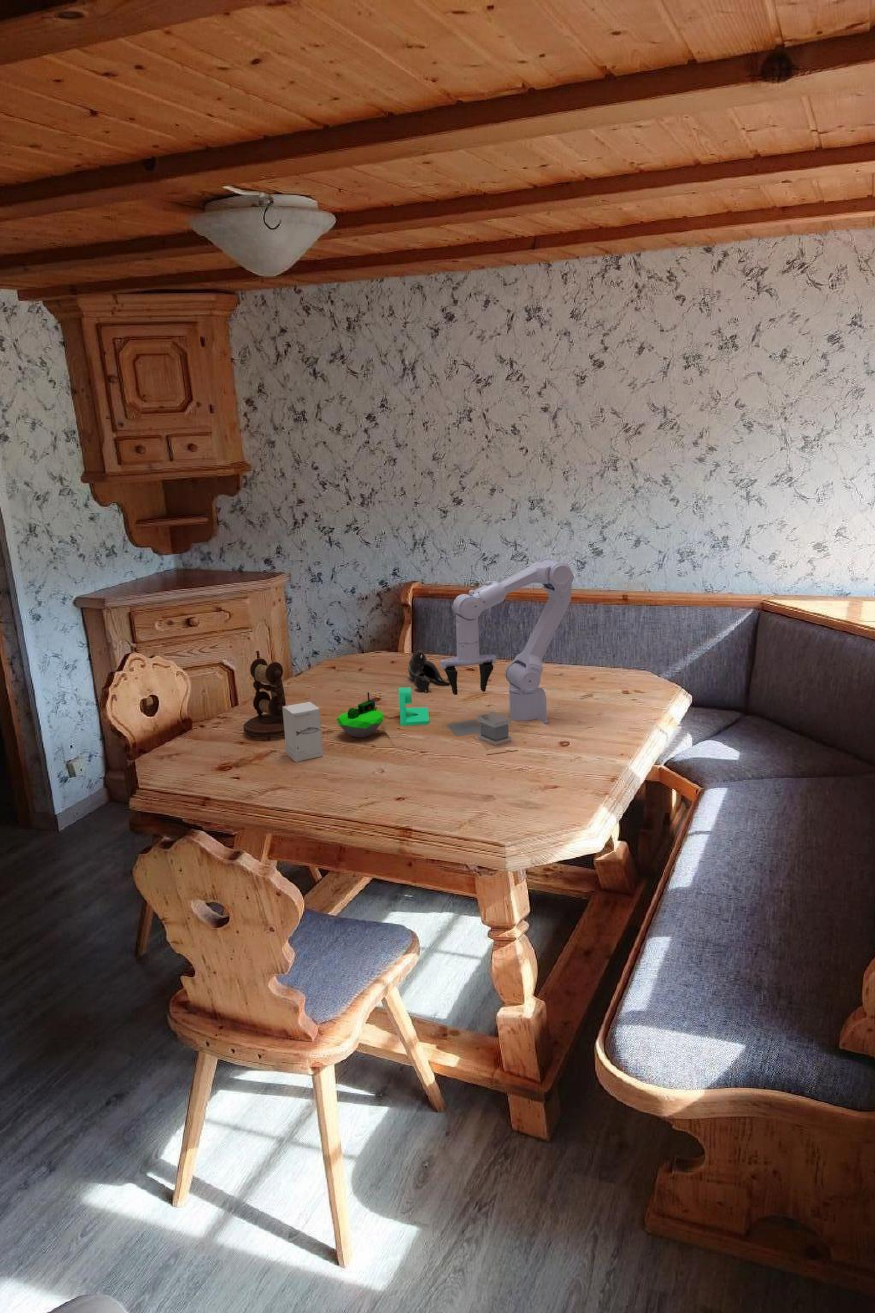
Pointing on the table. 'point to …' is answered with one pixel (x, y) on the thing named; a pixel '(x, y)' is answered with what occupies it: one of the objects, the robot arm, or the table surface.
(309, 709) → the supplement box
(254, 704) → the brown upright round-based piece
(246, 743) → the table surface
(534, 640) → the robot arm
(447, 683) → the cat figurine
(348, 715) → the green floating island model
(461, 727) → the stand
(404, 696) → the camera mount
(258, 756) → the table surface
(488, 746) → the stand
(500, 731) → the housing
